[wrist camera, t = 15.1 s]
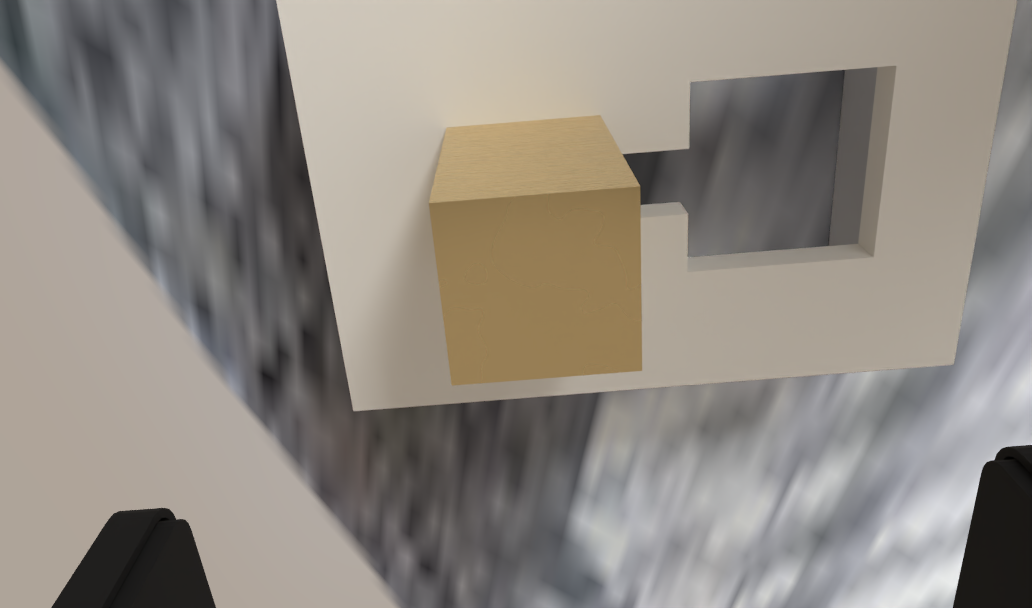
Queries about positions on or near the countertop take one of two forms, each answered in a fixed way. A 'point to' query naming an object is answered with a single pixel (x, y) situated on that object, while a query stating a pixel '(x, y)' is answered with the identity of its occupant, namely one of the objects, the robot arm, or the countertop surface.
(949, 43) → the notched white bracket
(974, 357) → the countertop surface
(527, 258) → the brass peg
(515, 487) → the countertop surface
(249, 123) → the countertop surface
